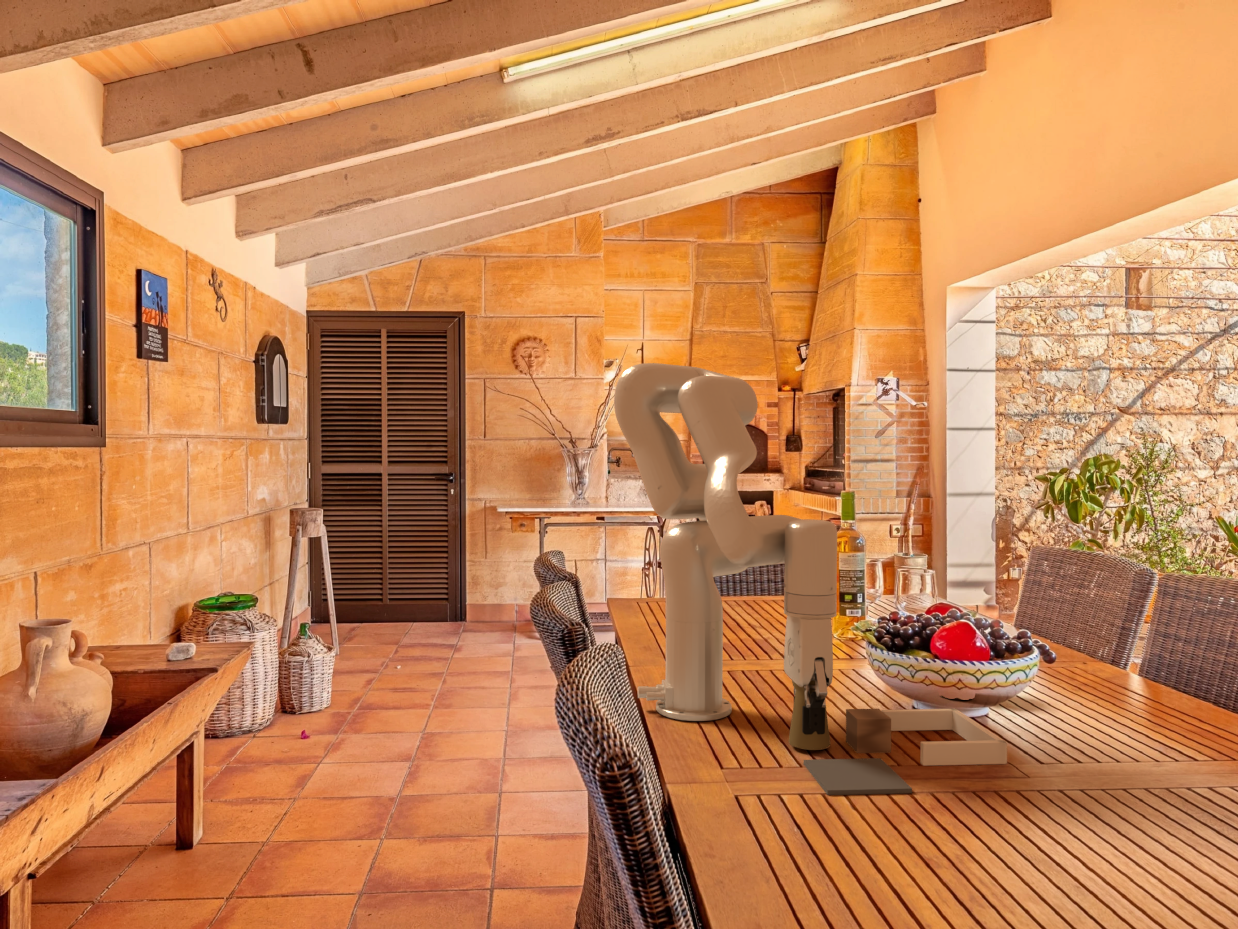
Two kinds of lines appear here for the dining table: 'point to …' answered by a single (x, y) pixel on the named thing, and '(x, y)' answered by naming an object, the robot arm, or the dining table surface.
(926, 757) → the tray
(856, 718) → the walnut block
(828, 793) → the mat
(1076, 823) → the dining table surface
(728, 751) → the dining table surface
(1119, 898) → the dining table surface
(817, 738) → the cork
